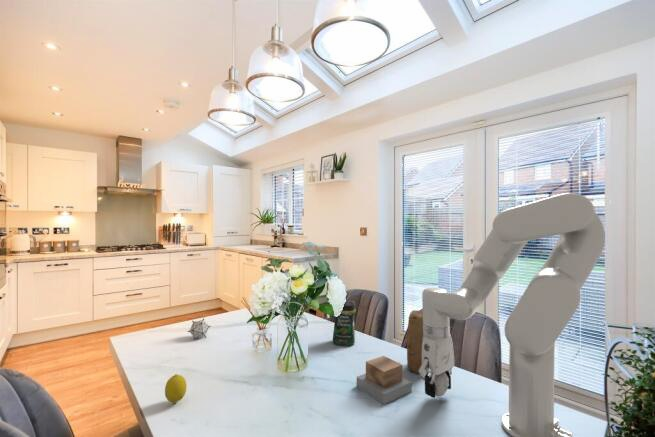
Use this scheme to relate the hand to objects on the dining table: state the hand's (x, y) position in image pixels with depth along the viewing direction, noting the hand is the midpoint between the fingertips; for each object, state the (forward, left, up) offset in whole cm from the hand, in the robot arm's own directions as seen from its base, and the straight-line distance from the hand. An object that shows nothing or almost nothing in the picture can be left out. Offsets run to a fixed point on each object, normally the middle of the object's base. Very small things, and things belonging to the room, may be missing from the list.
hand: (438, 391), depth 92 cm
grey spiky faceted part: (+89, +46, -3) cm, 100 cm away
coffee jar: (+49, -4, -3) cm, 49 cm away
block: (+16, -12, -3) cm, 20 cm away
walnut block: (+13, +9, +1) cm, 16 cm away
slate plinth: (+13, +9, -2) cm, 16 cm away
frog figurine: (0, 0, -1) cm, 1 cm away
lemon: (+41, +64, -3) cm, 76 cm away
